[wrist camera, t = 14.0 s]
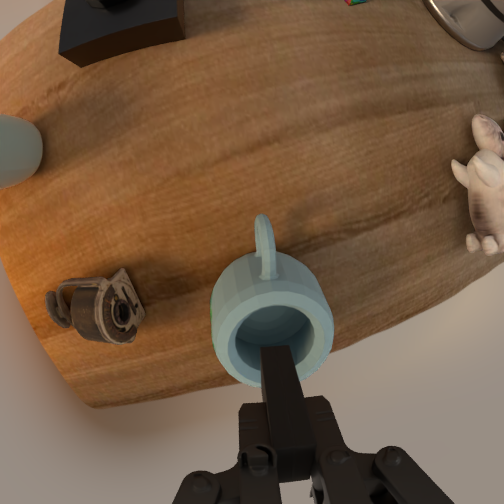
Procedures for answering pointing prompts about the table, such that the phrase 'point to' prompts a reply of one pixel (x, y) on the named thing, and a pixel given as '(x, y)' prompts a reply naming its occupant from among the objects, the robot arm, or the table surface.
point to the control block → (117, 27)
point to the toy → (485, 187)
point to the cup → (18, 150)
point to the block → (354, 1)
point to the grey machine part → (99, 308)
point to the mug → (269, 311)
